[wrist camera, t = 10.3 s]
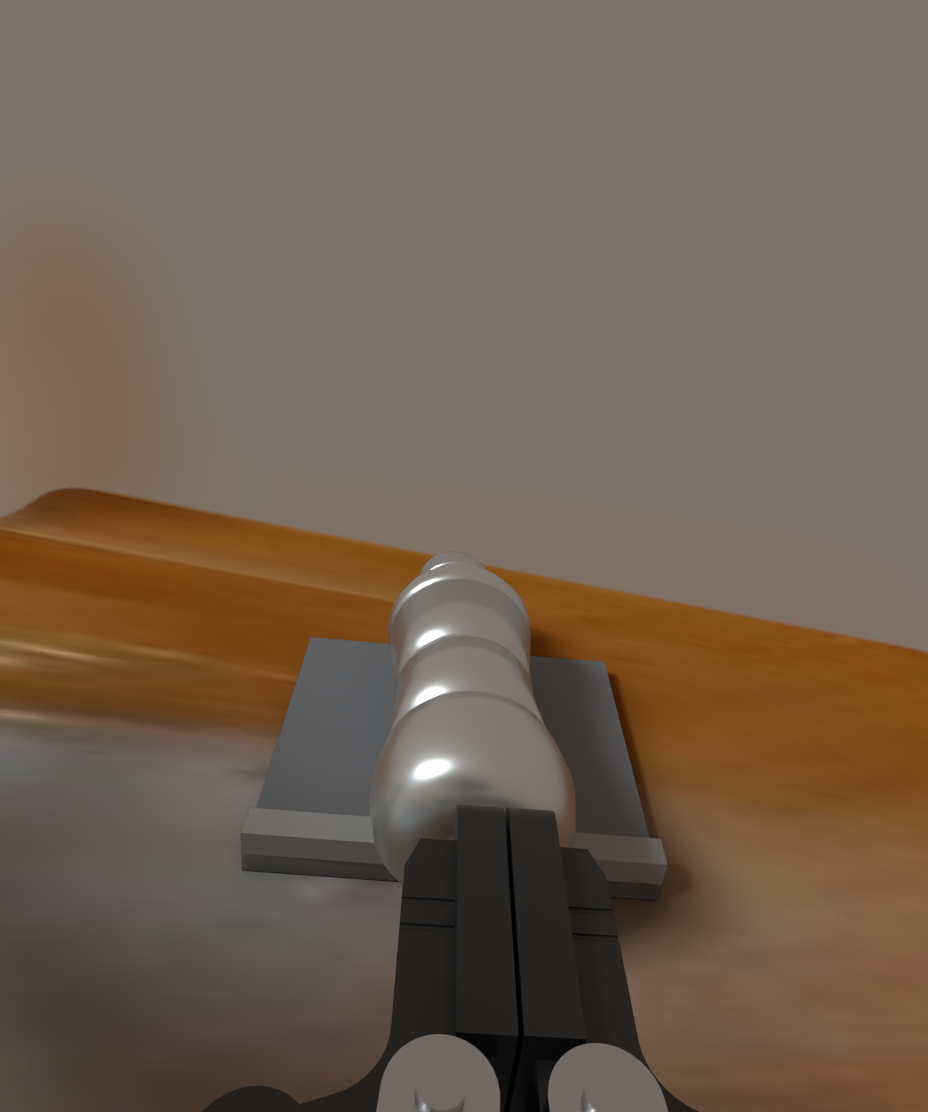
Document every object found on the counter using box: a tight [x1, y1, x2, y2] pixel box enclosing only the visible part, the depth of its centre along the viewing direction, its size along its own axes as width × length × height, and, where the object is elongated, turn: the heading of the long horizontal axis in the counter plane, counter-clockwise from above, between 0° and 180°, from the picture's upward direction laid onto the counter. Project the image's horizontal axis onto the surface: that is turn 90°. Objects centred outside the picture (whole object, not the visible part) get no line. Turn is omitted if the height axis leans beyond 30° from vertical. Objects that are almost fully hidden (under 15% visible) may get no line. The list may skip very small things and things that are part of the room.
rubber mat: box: [241, 637, 668, 900], centre depth 35 cm, size 15×14×2 cm
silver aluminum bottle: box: [369, 551, 576, 885], centre depth 33 cm, size 6×7×20 cm
